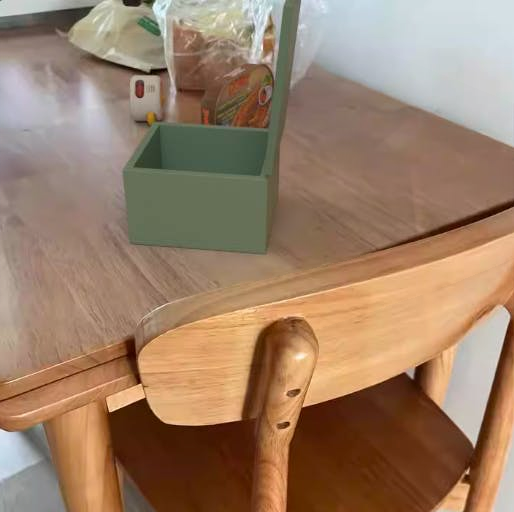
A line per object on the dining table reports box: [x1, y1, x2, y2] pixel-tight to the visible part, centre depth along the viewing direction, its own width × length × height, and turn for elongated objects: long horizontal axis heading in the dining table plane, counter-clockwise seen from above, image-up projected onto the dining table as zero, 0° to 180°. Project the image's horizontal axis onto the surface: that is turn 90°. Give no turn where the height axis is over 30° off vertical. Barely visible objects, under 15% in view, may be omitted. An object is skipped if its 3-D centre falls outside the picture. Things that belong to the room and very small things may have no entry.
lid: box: [264, 0, 302, 176], centre depth 67 cm, size 14×13×1 cm
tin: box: [200, 63, 275, 128], centre depth 93 cm, size 15×3×8 cm, turn 151°
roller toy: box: [129, 74, 166, 127], centre depth 98 cm, size 4×6×6 cm
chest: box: [122, 121, 281, 255], centre depth 75 cm, size 14×13×8 cm
